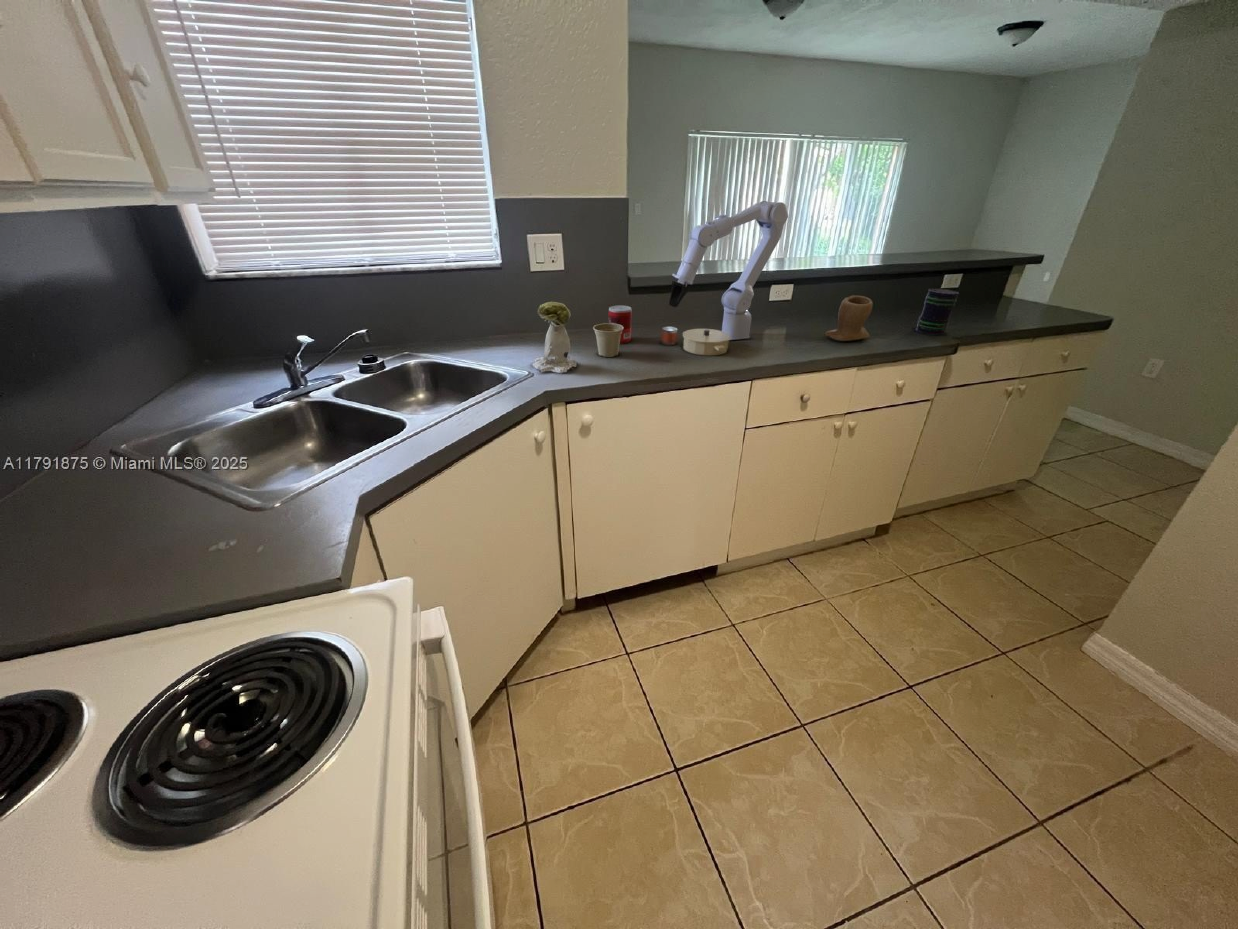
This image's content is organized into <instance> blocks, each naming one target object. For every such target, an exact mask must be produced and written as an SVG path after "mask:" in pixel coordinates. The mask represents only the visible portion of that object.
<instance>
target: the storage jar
mask: <svg viewBox="0 0 1238 929" xmlns="http://www.w3.org/2000/svg"><path fill="white" fill-rule="evenodd" d="M959 294H960V292H959V291H957V290H954V289H948V288H939V287H938V288H935V287H934V288H928V293H927V294H926V296H925V298H924V302H923V309H922V311H921V313H920V315H919V317H918V320H917V324H916V328H915V331H916V332H918V333H920V334H924V335H929V336H943V335H944V334H945V332H946V330H947V327H948V325H949V322H950V316H951V314H952V311H953V309H954V308H955V305H956V304H957V299H958V296H959Z"/></svg>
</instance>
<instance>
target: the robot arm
mask: <svg viewBox="0 0 1238 929" xmlns="http://www.w3.org/2000/svg"><path fill="white" fill-rule="evenodd" d="M788 219H789V211H788V207H787V205H786V204H785V202H781V201H778V202H774V201H767V200H762V201H760V202H756V203H754V204H753V205H751V206H749V207H747V208H745V209H743V210H741V211H739V212H738V213H736V214H733V215H732V216H729V215H727V214H723V213H722V214H721V213H720V214H719V215H718V217H717V218H714V219H713V220H711V221H710V220H707V221H705V223H704V225H703V224H698V225H695V227H693V229H692V230H690V231H689V242H688V245H687V248H686V251H685V253H684V254H683V255H684V256H683V258H682V260H681V263H680V265H679V268H678V270H677V273H676V274H675V273H672V275H671V276H672V277H674V278H675V279H678V280H677V281H675V280H672V281H671V293H670V297H669V301H668V305H669V306H671V307H673V308H678V307H679V305H680V303H681V301H682V300H683V298H684V297H685V296H686V295H687V294H688V293H689V292H690V291H691V288H689V287H687V286H688V285H693V284H694V280H695V277H696V276H697V273H698V271H699V268H700V265H701V262H702V261H703V259H704V256H705V254H706V252H707V249H708V247H711V246H712V245H713V244H714V243H715V242H716V241H717V240H719V239H722V238H724V237H726V236H729V235H731V234H732V233H733V231H734V228H736V227H739V226H742V225H744V224H747V223H749V222H752V221H754V220H755V221H756V223H757V225H758V227H759V229H760V231H761V234H762V237H761V239H760V240H759V242H758V244H757V246H756V247H755V249H754V251H753V253H752V254H751V256H750V258H749V260H748V262H747V264H746V265H745V267H744V269H743V271H742V273H741V274H740V276H739V278H738V279H737V280H736V281H735V282H733V283H731V284H730V286H729V288H728V289H726V291H724V292H723V294H722V296H721V304H722V306H723V310H724V311H723V318H722V325H721V331H722V332H725V333H727V334H729V335H730V340H729V341H735V340H746V339H747V340H748V339H750V338H751V336H750V332H751V327H752V326H751V325H752V314H751V312H750V311H749V309H750V308H751V305H752V300H753V298H754V296H755V294H754V289H753V287H754V286H755V284H756V282H757V280H758V279H759V277H760V275H761V273H762V271H763V270H764V268H765V266H766V264H767V263H768V261H769V260H770V257H771V256H772V254H773V253H774V251H775V249H776V247H777V245H778V244H779V242H780V240H781V238H782V234H783V230H784V225H785V224H786V222H787V221H788Z"/></svg>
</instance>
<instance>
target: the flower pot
mask: <svg viewBox="0 0 1238 929" xmlns="http://www.w3.org/2000/svg"><path fill="white" fill-rule="evenodd" d="M592 329H593V331H594V334H595V338H596V344H597V351H598V355H599V356H602V357H604V358H614V357H615V356H618V355H619V350H620V337H621V334H622V330H623V329H624V327H623V326H621V325H619V324H612V323H609V322H607V323H606V322H604V323H597V324H595V325H594V326H593V327H592Z"/></svg>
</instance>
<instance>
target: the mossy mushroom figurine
mask: <svg viewBox="0 0 1238 929" xmlns="http://www.w3.org/2000/svg"><path fill="white" fill-rule="evenodd" d="M537 315H538V316H540V318H541V319H542V320H544V322H547V323H548V324H549V327H548V328H547V332H546V335H545V341H544V356H542V357H537V358H535V359H534V363H532V367H533V368H535V369H537V370H539V371H540V373H545V372H553V373H557V374H563V373H567V372H568V370H570V369H572V370H574V369H573V367H574V368H577V367H578V364H577V360H574V359H571V357H570V356H569V352H570V351H571V343H570V341H571V338H570V337H569V334H568V332H567V330H566V326H565V325H567V324H568V323H569V320H570V318H571V311H570V309H569V308H568V307H567V306H566V305H565V304H564V303H562V302H557V301H548V302H544V303H542V304H540V305H539V306H538V308H537Z"/></svg>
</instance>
